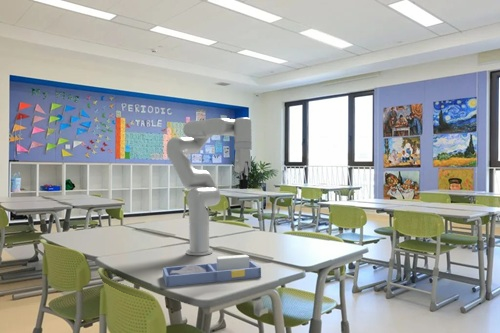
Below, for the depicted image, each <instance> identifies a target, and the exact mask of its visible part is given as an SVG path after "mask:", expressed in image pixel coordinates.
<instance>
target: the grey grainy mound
mask: <svg viewBox="0 0 500 333" xmlns="http://www.w3.org/2000/svg"><path fill="white" fill-rule="evenodd" d="M188 265H189V266H186V265H185V266H186V267H183V268H182V269H180V270H172V271H171V272H170V275H181V274H191V273H202V272H206V270H205V269H204V268H201V267H200V266H196V265H197V264H188Z"/></svg>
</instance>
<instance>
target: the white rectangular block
mask: <svg viewBox="0 0 500 333" xmlns="http://www.w3.org/2000/svg"><path fill="white" fill-rule="evenodd" d="M249 260H250V256H249V255H248V254H237V255H235V254H233V255H224V256H216V263H217V271H224V270H234V269H245V268H249Z"/></svg>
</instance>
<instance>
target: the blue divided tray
mask: <svg viewBox="0 0 500 333" xmlns="http://www.w3.org/2000/svg"><path fill="white" fill-rule="evenodd" d="M189 265H190V264H187V265H176V266H166V267H165V266H164V267H162V279H163V280H164V284H165V286H166V287H177V286H186V285H195V284H196V285H197V284H204V283H205V284H206V283H214V282H215V283H216V282H225V281H235V280H236V281H237V280H244V279H255V278H262V268H261V266H259V265H258V264H256V263H255V262H254V261H252V260H251V259H249V268H245V269H234V270H224V271H217V262H213V263H212V262H210V263H198V264H195V265H196V266H200V267H201V268H204V269H205V270H206V272H202V273H191V274H181V275H170V272H171V271H172V270H180V269H182V268H183V267H186V266H189Z"/></svg>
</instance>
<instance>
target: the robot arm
mask: <svg viewBox="0 0 500 333" xmlns="http://www.w3.org/2000/svg"><path fill="white" fill-rule="evenodd" d="M182 130H183V134H184V135H185V136H175V137H174V136H173V137H172V138H170V139H169V140H168V141H167V144H166V154H167V157H168V159H169V161H170V163H171V164H172V166H173V167H174V169H175V171H176V173H177V175H178V178H179V179H180V180H179V181H180V182H181V184H182V186H183V187H184V188H185V189H187V190H189V189H190V190H189V191H188V192H187V195H186V202H187V205H188V206H187V207H188V208H187V209H188V217H189V219H188V220H189V221H188V224H189V226H188V227H189V230H188V231H189V234H188V235H189V239H188V240H189V241H188V242H189V249H187V250H186V251H185V252H186V253H185V254H187V255H189V256H198V257H199V256H207V255H210V254H212V253H213V249H212V248H210V216H209V212H208V210H207V208H206V207H214V206H217V205H218V204H219V203H220V202H221V192H220V189H219V188H218V185H217V183H216V182H215V180H214V178H213V176H212V174H211V173H210V172H209V171H207V170H205V169H196V168H195V167H194V166H193V163H192V162H191V160H190V159H189V158H188V157H187V156H186V155H195V154H197V153H199V152H200V151H201V150H202V148H203V147H204V146H205V144H206V143H207V142H208V140H209V139H210V138H212V137H213V136H225V137H234V138H233V141H234V142H233V143H234V144H233V146H234V151H235V154H234V172H235V173H238V180H239V182H238V183H239V187H238V188H239V189H240V190H248V178H249V177H248V176H249V173H250V172H251V170H252V158H251V157H252V156H251V150H252V147H253V145H252V119H250V118H249V117H237V118H235V119H233V118H231V119H230V118H225V117H213V118H206V119H201V120H200V119H199V120H198V119H197V120H190V121H188V122H186V123H185V124H184V125H183V128H182Z"/></svg>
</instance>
